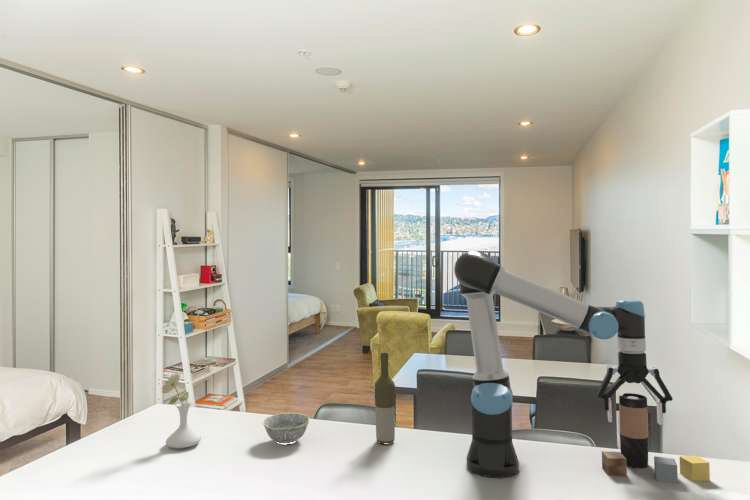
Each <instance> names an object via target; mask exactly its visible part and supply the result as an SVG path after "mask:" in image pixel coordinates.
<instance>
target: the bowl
mask: <svg viewBox="0 0 750 500" xmlns="http://www.w3.org/2000/svg"><path fill="white" fill-rule="evenodd" d="M310 420H311V419H310V416H308V415H306V414H304V413H299V412H285V413H284V412H283V413H278V414H273V415H269V416H267V417H266V418H264V419H263V421H262V425H263V427H264V429H265V431H266V433H267V435H268V437H269V438H270V439H271V440H273V441H274V442H279V443H290V442H294V441H296V440H297V441H299V440H300V439H301V438H302V437H303V436H304V434H305V433H306V431H307V428H308V424H309V422H310Z"/></svg>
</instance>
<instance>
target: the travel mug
mask: <svg viewBox="0 0 750 500" xmlns="http://www.w3.org/2000/svg"><path fill="white" fill-rule="evenodd" d="M618 398H619V399H618V401H619V405H618V407H619V411H618V412H619V419H618V420H619V445H620V453H621V454H622V455H623V456H624V457H625V458H626V459H627V467H631V468H634V469H646V468H648V466H649V419H648V417H649V415H648V398H647V396H645V395H642V394H639V393H629V392H628V393H627V392H626V393H623V394H622V395H620V394H618Z"/></svg>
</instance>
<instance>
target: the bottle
mask: <svg viewBox="0 0 750 500" xmlns="http://www.w3.org/2000/svg"><path fill="white" fill-rule="evenodd" d="M379 356H380V376H379V377H378V378H377V380H376V381H375V383H374V403H375V404H374V405H375V406H374V408H375V409H374V410H375V438H376V442H377V441H378V442H380V443H390V444H392V443H391V442H393V441H394V442H395V439H396V438H395V437H396V434H395V431H396V430H395V428H396V427H395V425H396V421H395V418H396V417H395V416H396V414H395V413H396V386H395V385H396V384H395V382H394V380H393V379H391V377H390V376H389V353H388V352H382V353H380V355H379ZM378 442H377V443H378ZM394 442H393V443H394ZM380 443H379V444H380Z"/></svg>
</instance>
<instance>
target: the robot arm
mask: <svg viewBox="0 0 750 500" xmlns="http://www.w3.org/2000/svg"><path fill="white" fill-rule="evenodd" d="M454 263H455V264H454V275H455V279H456V280H457V281H458V283H459V289H460V290H459V291H460V295H461V296H462V297H464V298H465V300H466V304H467V305H466V307H467V314H468V320H469V328H470V335H471V342H472V350H473V358H474V363H475V372H474V374H473V375H472V383H473V388H472V390H471V396H470V401H471V443H470V445H469V448H468V451H467V455H466V468H468V470H469V471H471V472H472V473H474V474H476V475H479V476H483V477H488V478H499V479H500V478H508V477H512V476H514V475H516V474H517V473H518V472H519V471H520V464H519V463H520V461H519V458H518V455H517V452H516V448H515V446H514V442H513V402H514V401H513V399H514V395H513V390H512V388H511V382H510V375H509V372H507V371H506V370H505V369H504V366H503V361H502V354H501V346H500V339H499V338H500V337H499V332H498V331H499V330H498V325H497V318H496V317H497V316H496V311H495V304H494V297H493V296H494V294H496V295H498V296H501V297H503V298H505V299H508V300H509V301H510V300H511V301H513V302H515V303H517V304H519V305H522V306H524V307H527V308H528V309H532V310H533V311H536V312H538V313H541V314H543V315H546V316H548V317H550V318H553V319H555V320H558V321H559V322H562V323H564V324H567V325H569V326H572V327H574V328H575V330H577V331H578V332H585V333H588V334H590V335H592V336H593V337H594V338H596V339H599V340H610V339H612V338H613V337H615V336H616V335H617V336H616V337H617V349H618V350H619V351H618V352H617V355H618V357H617V359H618V360H617V361H618V366H617V367H612V366H611V365H607V367H606V374H605V376H604V378H603V380H602V382H601V383H600V385H599V387H598V389H597V392H596V396H597V397H598V398H601V399H602V400H603V401H602V402H603V410H605V411H607V421H608V422H609V423H613V409H612V400H611V397H612V396H613V395H614V394H615V393H616V391H618V390H619V389H620V387H621V386H622V385H624V384H625V383H628V384H633V383H635V384H641V383H643V384H644V385H645V387H647V388H648V389H649V390H650V391H651V392H652V393H653V394H654V396H656V398H657V400H656V421H657V424H658V425H659V426H663V425H664V424H663V423H664V422H663V414H666V412H667V408H666V405H667V402H669V401H670V402H672V401H673V396H672V394H671V393H670V390H668V388H667V386H666V385H665V382H664V381H663V379H662V377H661V374H660V371H659V369H658V368H657V367H652V368H648V367H647V366H648V365H647V353H646V350H647V346H646V343H647V342H646V323H645V322H646V320H645V319H646V313H645V305H644V303H643V301H641V300H636V299H619V300H616V302H615V306H592V305H590V304H589V303H586V302H583V301H581V300H578V299H576V298H574V297H572V296H569V295H567V294H564V293H561V292H559V291H557V290H554V289H551V288H549V287H547V286H544V285H543V284H541V283H537V282H535V281H533V280H530V279H527V278H525V277H523V276H520V275H518V274H515V273H513V272H510V271H508V270H506V269H505V267H504V265H502V264H499V263H497V262H495V261H493V259H492V258H491V257H490V256H489V255H488V254H487V253H484V252H482V251H477V250H476V251H475V250H471V251H466V252H464V253H462V254H461V255H460V256H459V257H458V258H457V259H456V261H455V262H454ZM616 373H618V374H619V376H618V377H617V379H616V380H615V381H614V382H613V384H611V386H610V387H609V388H608V386H609V385H610V384H609V383H610V382H611V380H612V378H613V376H614V375H615V374H616ZM649 374H650V375H651V376H652V377H654V380H655V381H656V383H657V384H658V386H659V388H660V389H661V391H662V393H663V394H664V395H662V394H661V393H660V392H659V391H658V390H657V389H656V388H655V387H654V386H653V385H652V383H650V381H649V380H648V379H647V378H646V377H647V376H648V375H649ZM607 388H608V389H607Z"/></svg>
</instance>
